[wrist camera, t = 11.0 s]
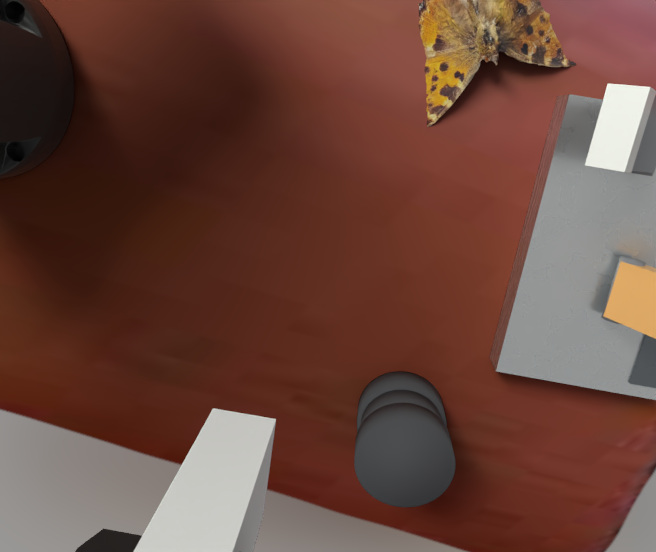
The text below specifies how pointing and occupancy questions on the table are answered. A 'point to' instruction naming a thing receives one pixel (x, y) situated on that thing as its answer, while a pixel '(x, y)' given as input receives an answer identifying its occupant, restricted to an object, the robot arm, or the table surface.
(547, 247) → the panel
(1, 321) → the table surface
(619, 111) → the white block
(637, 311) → the paddle orange
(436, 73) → the butterfly model
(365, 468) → the grey stacked discs
